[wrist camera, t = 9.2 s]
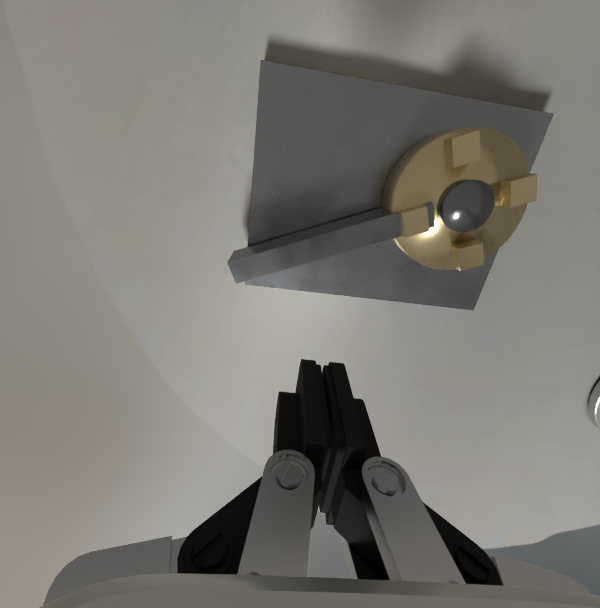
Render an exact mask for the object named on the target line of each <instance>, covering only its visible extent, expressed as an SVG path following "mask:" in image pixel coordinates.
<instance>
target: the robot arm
mask: <svg viewBox="0 0 600 608" xmlns="http://www.w3.org/2000/svg"><path fill="white" fill-rule="evenodd" d="M588 413H589V416H590V419H591V420H592V422H593V423H594V424H595V425H596V426H597V427H598V428H599V429H600V380H599V382H598V383H597V385H596V386H595V388H594V390H593V392H592V394H591V396H590V399H589V403H588ZM318 506H319V508H320V512H322V513H325V514H326V524H328V525H334V528H335V529H336V530H337V532H339V534H341V543H342V549H343V553H344V556H345V560H346V564H347V567H348V572H349V575H350V579H341V578H319V577H318V578H316V577H306V576H307V564H308V551H309V539H310V530H311V528H312V527H313V525H314V521H315V517H316V514H317V510H318ZM40 608H600V597H598V596H595V595H592V594H590V592H589V591H588V590H587V589H586V588H585V587H584V586H582V585H581V584H580V583H578V582H577V581H576V580H574V579H573V578H571V577H568V576H566V575H564V574H562V573H558V572H555V571H552V570H549V569H545V568H542V567H539V566H535V565H532V564H529V563H525V562H522V561H519V560H516V559H513V558H509V557H506V556H502V555H500V554H496V553H492V555H491V556H489V555H487V554H486V553H485V552H484V551H483V550H482V549H481V548H480V547H479V546H478V545H477V544H476V543H474V542H473V541H472V540H470V539H469V538H468V537H467V536H465V535H464V534H463V533H462V532H460V531H459V530H458V529H456V528H455V527H454V526H453V525H451V524H450V523H449V522H447V521H446V520H445V519H444V518H442V517H441V516H440V515H439V514H437V513H436V512H435V511H433V510H432V509H431V508H430V507H428V506H427V505H426V504H425V503H423V502H422V500H421V498H420V496H419V495H418V493H417V491H416V489H415V487H414V485H413V483H412V481H411V480H410V478H409V476H408V474H407V473H406V472H405V470H404V469H403V468H402V467H401V466H400V465H399V464H397V463H396V462H394V461H393V460H391V459H388V458H385V457H381V455H380V452H379V448H378V445H377V442H376V439H375V436H374V432H373V429H372V426H371V423H370V420H369V416H368V413H367V410H366V407H365V404H364V401H363V400H362V399H354V398H353V394H352V391H351V387H350V383H349V380H348V376H347V372H346V369H345V365H344V364H343V363H333V362H330V363H329V365H328V366H326V365H324V367H323V371H321V365H316V361H313V360H304V359H301V363H300V368H299V374H298V380H297V386H296V392H295V393H288V392H279V395H278V401H277V409H276V418H275V429H274V445H273V455H272V456H271V457H270V458H269V459H268V461H267V463H266V465H265V468H264V472H263V476H262V477H261V478H259V479H258V480H257V481H256V482H254V483H253V484H252V485H251V486H249V487H248V488H247V489H245V490H244V491H243V492H242V493H240V494H239V495H238V496H236V497H235V498H234V499H233V500H232V501H230V502H229V503H228V504H226V505H225V506H224V507H223V508H221V509H220V510H219V511H218V512H216V513H215V514H214V515H212V516H211V517H210V518H208V519H207V520H206V521H205V522H204V523H202V524H201V525H200V526H199V527H197V528H196V529H195V530H193V531H192V532H191V534H189V536H187V537H184V538H179V539H175V540H172V536H169V537H164V538H159V539H154V540H149V541H144V542H139V543H134V544H128V545H123V546H118V547H113V548H108V549H103V550H98V551H93V552H89V553H87V554H84V555H81V556H79V557H77V558H76V559H74V560H73V561H71V562H70V563H69V564H67V565H66V566H65V567H64V568H63V569H62V570H61V572H60V573H59V574H58V575H57V576H56V578H55V579H54V581H53V583H52V585H51V587H50V589H49V591H48V593H47V596H46V599H45V601H44V604H43V606H42V607H40Z"/></svg>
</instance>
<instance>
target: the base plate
mask: <svg viewBox="0 0 600 608" xmlns="http://www.w3.org/2000/svg"><path fill="white" fill-rule="evenodd" d="M552 117H553V114H552V113H547V112H542V111H536V110H531V109H525V108H520V107H514V106H509V105H504V104H498V103H493V102H487V101H482V100H476V99H471V98H465V97H460V96H455V95H449V94H444V93H438V92H433V91H427V90H422V89H417V88H411V87H406V86H400V85H395V84H389V83H384V82H378V81H373V80H368V79H362V78H357V77H351V76H346V75H340V74H335V73H330V72H324V71H319V70H313V69H308V68H302V67H297V66H291V65H286V64H281V63H275V62H270V61H264V60H261V65H260V79H259V93H258V108H257V122H256V136H255V150H254V165H253V179H252V193H251V207H250V221H249V236H248V247H249V246H253V245H256V244H260V243H263V242H266V241H270V240H273V239H277V238H280V237H283V236H287V235H290V234H294V233H297V232H300V231H304V230H307V229H310V228H314V227H317V226H321V225H324V224H327V223H331V222H334V221H338V220H341V219H344V218H348V217H351V216H355V215H358V214H361V213H365V212H368V211H372V210H375V209H378V208H381V205H382V196H383V191H384V188H385V184H386V182H387V179H388V177H389V175H390V173H391V171H392V169H393V168H394V166H395V165H396V163H397V162H398V161H399V160H400V158H401V157H402V156H403V155H404V154H405V153H406V152H407V151H408V150H409V149H410V148H412V147H413V146H414V145H416V144H417V143H419V142H420V141H422V140H424V139H426V138H428V137H430V136H433V135H435V134H439V133H444V132H449V131H454V130H458V129H463V128H471V127H483V128H489V129H493V130H496V131H499V132H501V133H503V134H505V135H506V136H508V137H509V138H511V139H512V140H513V141H514V142H515V143H516V144H517V145H518V147H519V148H520V149H521V151H522V153H523V155H524V157H525V159H526V162H527V165H528V168H529V173H530V171H531V168H532V166H533V163H534V161H535V158H536V156H537V153H538V151H539V149H540V146H541V144H542V141H543V139H544V136H545V134H546V131H547V129H548V127H549V124H550V122H551V119H552ZM497 251H498V250H497ZM497 251H495V252H494V253H493V254H491V255H490V256H489V257H487V258H485V259H484V265H481V266H478V267H474V268H470V269H467V270H463V271H459V270H458V269H455V270H439V269H433V268H430V267H427V266H424V265H422V264H420V263H418V262H417V261H415V260H414V259H413V258H411V257H410V256H409V255H407V254H406V253H404V252H403V251H402V250H400V249H399V248H398V247H397V246H396V245H395V244H394V243H393V242H392V240H391V239H390V240H386V241H383V242H379V243H376V244H372V245H369V246H365V247H362V248H358V249H355V250H351V251H348V252H344V253H341V254H337V255H334V256H330V257H327V258H323V259H320V260H316V261H313V262H309V263H306V264H302V265H299V266H295V267H292V268H288V269H285V270H281V271H278V272H274V273H271V274H267V275H264V276H260V277H257V278H253V279H250V280H246V281H245V284H246V285H255V286H264V287H273V288H282V289H290V290H299V291H308V292H317V293H326V294H335V295H344V296H352V297H361V298H370V299H379V300H388V301H397V302H405V303H414V304H423V305H432V306H441V307H450V308H458V309H467V310H474V308H475V305H476V303H477V300H478V298H479V295H480V293H481V291H482V288H483V286H484V283H485V281H486V278H487V276H488V273H489V271H490V268H491V266H492V264H493V261H494V259H495V256H496V254H497Z"/></svg>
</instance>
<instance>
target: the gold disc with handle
mask: <svg viewBox="0 0 600 608" xmlns="http://www.w3.org/2000/svg"><path fill="white" fill-rule="evenodd" d="M536 196H537V174H529V168H528V165H527V162H526V159H525V157H524V155H523V153H522V151H521V149H520V148H519V147H518V145H517V144H516V143H515V142H514V141H513V140H512V139H511V138H509V137H508V136H506V135H505V134H503V133H501V132H499V131H496V130H493V129H489V128H483V127H471V128H463V129H458V130H454V131H449V132H444V133H439V134H435V135H433V136H430V137H428V138H426V139H424V140H422V141H420V142H419V143H417V144H416V145H414V146H413V147H412V148H410V149H409V150H408V151H407V152H406V153H405V154H404V155H403V156H402V157H401V158H400V160H399V161H398V162H397V163H396V165H395V166H394V168H393V169H392V171H391V173H390V175H389V177H388V179H387V182H386V184H385V188H384V191H383V196H382V205H381V208H378V209H375V210H372V211H368V212H365V213H361V214H358V215H355V216H351V217H348V218H344V219H341V220H338V221H334V222H331V223H327V224H324V225H321V226H317V227H314V228H310V229H307V230H304V231H300V232H297V233H294V234H290V235H287V236H283V237H280V238H277V239H273V240H270V241H266V242H263V243H260V244H256V245H253V246H249V247H246V248H243V249H239V250H236V251H234V252H233V254H232V255H231V257H230V259H229V261H228V265H229V268H230V270H231V273H232V275H233V278H234V280H235V283H239V282H243V281H246V280H250V279H253V278H257V277H260V276H264V275H267V274H271V273H274V272H278V271H281V270H285V269H288V268H292V267H295V266H299V265H302V264H306V263H309V262H313V261H316V260H320V259H323V258H327V257H330V256H334V255H337V254H341V253H344V252H348V251H351V250H355V249H358V248H362V247H365V246H369V245H372V244H376V243H379V242H383V241H386V240H390V239H391V240H392V242H393V243H394V244H395V245H396V246H397V247H398V248H399V249H400V250H402V251H403V252H404V253H406V254H407V255H409V256H410V257H411V258H413V259H414V260H415V261H417V262H418V263H420V264H422V265H424V266H427V267H430V268H433V269H439V270H455V269H458V270H459V271H463V270H467V269H470V268H474V267H478V266H481V265H484V259H485V258H487V257H489V256H490V255H491V254H493V253H494V252H495V251H497V250H498V249H499V248H500V247H501V246H502V245H503V244H504V243H505V242H506V241H507V240H508V239H509V237H510V236H511V235H512V233H513V232H514V231H515V229H516V228H517V226H518V224H519V222H520V221H521V218H522V216H523V214H524V212H525V209H526V206H527V203H529V202H533V201H536Z"/></svg>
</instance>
